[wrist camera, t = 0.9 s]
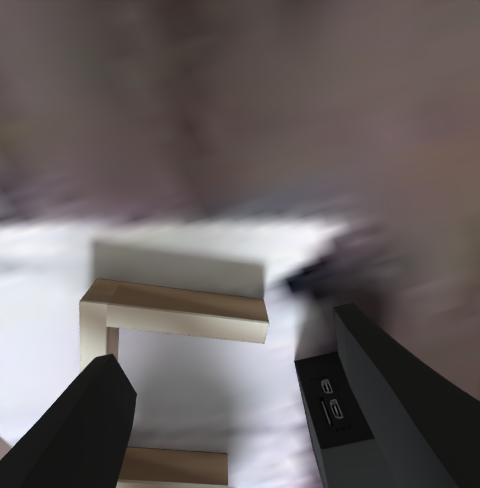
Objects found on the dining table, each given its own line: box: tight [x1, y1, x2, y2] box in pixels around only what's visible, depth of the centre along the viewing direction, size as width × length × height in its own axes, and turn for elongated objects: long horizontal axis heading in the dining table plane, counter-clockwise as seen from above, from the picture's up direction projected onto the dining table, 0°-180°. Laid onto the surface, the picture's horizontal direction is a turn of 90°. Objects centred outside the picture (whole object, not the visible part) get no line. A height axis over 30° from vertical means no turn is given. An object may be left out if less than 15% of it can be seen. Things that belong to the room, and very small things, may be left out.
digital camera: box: [294, 352, 397, 488], centre depth 22 cm, size 10×5×7 cm, turn 13°
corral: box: [79, 279, 269, 488], centre depth 22 cm, size 17×11×3 cm, turn 170°
